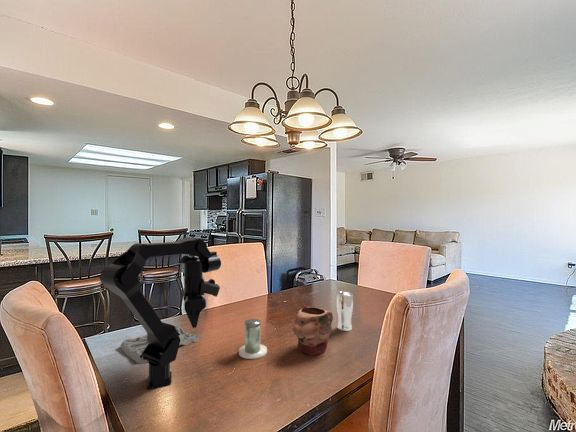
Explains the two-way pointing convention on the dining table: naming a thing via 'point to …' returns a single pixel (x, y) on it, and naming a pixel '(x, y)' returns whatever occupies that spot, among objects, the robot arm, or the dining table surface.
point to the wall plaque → (132, 344)
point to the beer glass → (344, 310)
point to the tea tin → (252, 336)
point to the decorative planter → (313, 329)
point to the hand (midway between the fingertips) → (193, 322)
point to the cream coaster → (256, 355)
